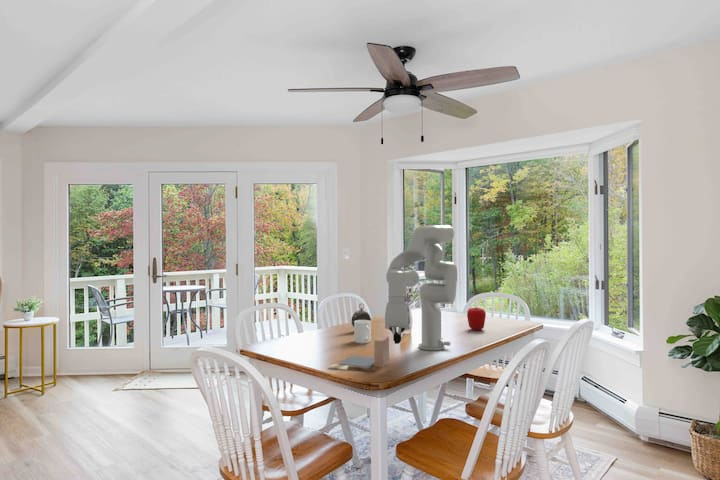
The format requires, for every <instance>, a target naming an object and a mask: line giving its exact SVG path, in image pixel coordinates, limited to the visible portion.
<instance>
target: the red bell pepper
mask: <svg viewBox="0 0 720 480" xmlns="http://www.w3.org/2000/svg"><path fill="white" fill-rule="evenodd" d="M466 313H467V314H466V317H467V323H468V327H469V328H470V329H471V330H472V331H482V330H483V329H484V328H485V324H486V323H485V322H486V317H487V316H486V315H487V314H486V311H485V310H484V309H483V308H480V307H477V306H476V307H470V308H469V309H468V310H467V312H466Z"/></svg>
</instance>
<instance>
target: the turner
mask: <svg viewBox="0 0 720 480" xmlns="http://www.w3.org/2000/svg"><path fill="white" fill-rule="evenodd" d="M328 369H329V370H337V369H340V371H348V370H350V369H351V370H354V371H363V372H372V371H373V366H371V367H363V366H351V365H339V364H335V363H334V364H332V365H330V366H329V367H328Z"/></svg>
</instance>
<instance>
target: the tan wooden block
mask: <svg viewBox="0 0 720 480" xmlns="http://www.w3.org/2000/svg"><path fill="white" fill-rule="evenodd" d="M373 343H374V344H373V346H374V347H373V349H374V350H373V351H374V352H373V353H374V355H373V358H374V365H373V366H374V367H375V366H377V368H384V367H385V366H386V365H388V363H389V362H390V336H385V335H380V336H379V337H377V338H376V339H375V340H374V341H373Z"/></svg>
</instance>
